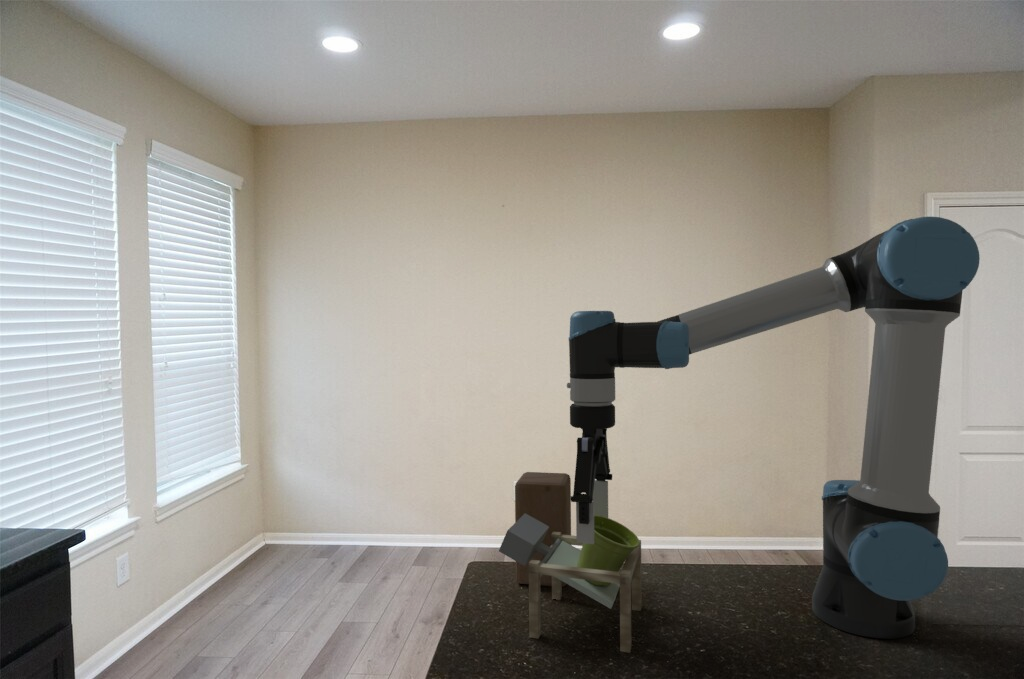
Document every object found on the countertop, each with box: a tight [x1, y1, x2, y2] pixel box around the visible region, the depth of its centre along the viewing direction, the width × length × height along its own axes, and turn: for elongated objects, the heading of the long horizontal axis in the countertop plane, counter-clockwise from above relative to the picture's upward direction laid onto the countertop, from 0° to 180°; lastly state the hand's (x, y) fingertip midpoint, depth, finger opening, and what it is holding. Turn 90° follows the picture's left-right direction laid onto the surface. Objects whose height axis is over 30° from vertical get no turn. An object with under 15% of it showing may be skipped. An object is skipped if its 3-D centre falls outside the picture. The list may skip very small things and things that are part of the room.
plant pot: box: [577, 515, 640, 586], centre depth 101 cm, size 9×9×9 cm
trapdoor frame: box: [528, 532, 643, 654], centre depth 103 cm, size 16×16×12 cm
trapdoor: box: [498, 514, 620, 610], centre depth 104 cm, size 20×12×4 cm, turn 72°
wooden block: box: [514, 471, 572, 587], centre depth 121 cm, size 10×10×20 cm
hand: (593, 529), depth 102 cm, fingers open, 13 cm apart
